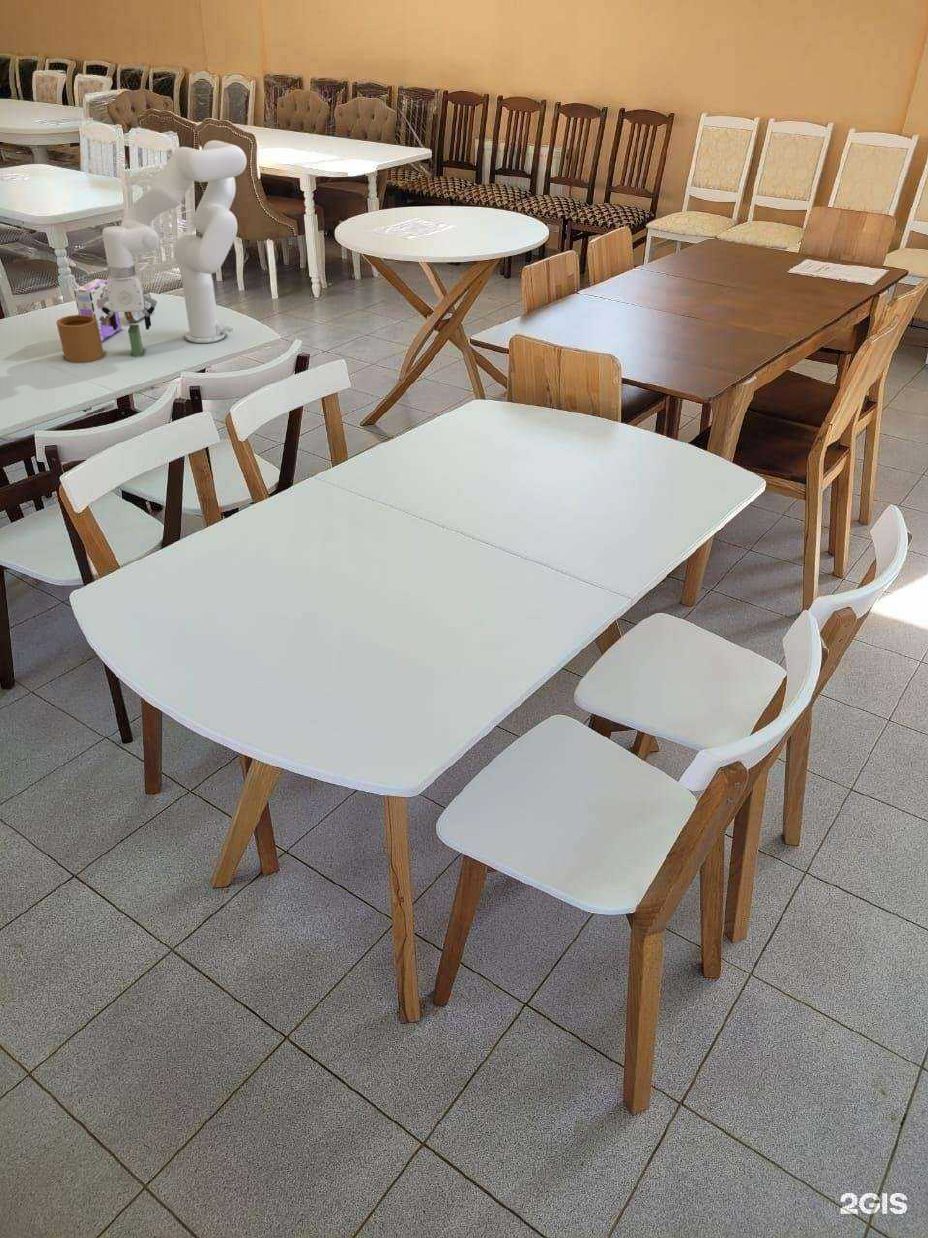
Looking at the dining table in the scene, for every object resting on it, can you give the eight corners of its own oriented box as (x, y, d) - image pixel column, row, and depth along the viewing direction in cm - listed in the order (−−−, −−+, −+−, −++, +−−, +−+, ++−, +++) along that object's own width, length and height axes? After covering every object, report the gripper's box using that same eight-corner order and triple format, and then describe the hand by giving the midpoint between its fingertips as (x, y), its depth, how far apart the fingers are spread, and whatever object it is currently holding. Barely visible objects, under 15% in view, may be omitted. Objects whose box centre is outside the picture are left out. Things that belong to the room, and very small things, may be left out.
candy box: (100, 343, 294) (89, 290, 284) (83, 341, 295) (72, 289, 285) (122, 329, 305) (112, 279, 295) (106, 328, 306) (95, 277, 296)
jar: (106, 348, 290) (98, 314, 283) (100, 361, 280) (93, 325, 274) (68, 350, 288) (60, 315, 281) (62, 362, 279) (53, 327, 272)
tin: (147, 311, 321) (142, 286, 316) (155, 312, 321) (151, 287, 316) (125, 324, 309) (120, 299, 304) (134, 325, 309) (129, 300, 304)
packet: (143, 349, 290) (138, 324, 285) (141, 355, 285) (136, 330, 281) (134, 349, 289) (130, 324, 285) (132, 355, 285) (127, 330, 280)
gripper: (89, 274, 268) (100, 332, 278) (150, 274, 271) (159, 332, 281) (93, 268, 274) (104, 325, 284) (153, 268, 277) (161, 324, 287)
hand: (131, 328), depth 282 cm, fingers open, 9 cm apart
